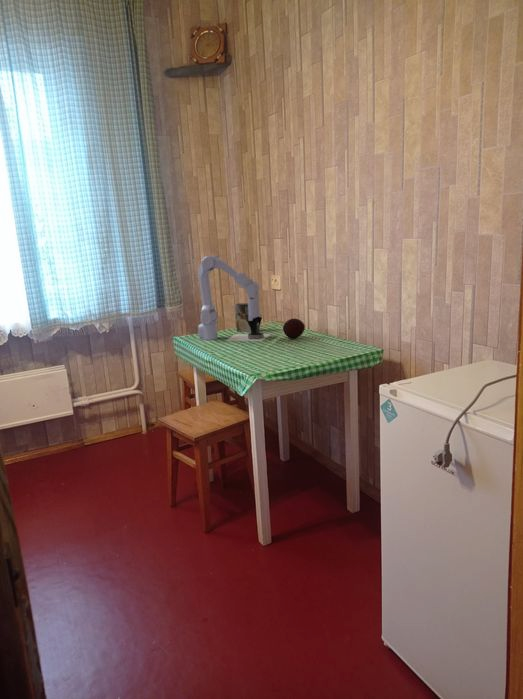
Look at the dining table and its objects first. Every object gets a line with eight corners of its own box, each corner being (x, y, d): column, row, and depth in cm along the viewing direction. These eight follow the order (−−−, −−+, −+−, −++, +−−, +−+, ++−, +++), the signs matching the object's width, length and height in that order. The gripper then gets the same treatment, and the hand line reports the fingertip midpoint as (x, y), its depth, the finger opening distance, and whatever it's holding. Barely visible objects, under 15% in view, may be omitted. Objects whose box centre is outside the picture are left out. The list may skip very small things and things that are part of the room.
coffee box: (255, 331, 288) (253, 302, 284) (252, 333, 282) (250, 304, 278) (240, 331, 290) (238, 303, 287) (236, 333, 284) (234, 304, 281)
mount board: (224, 342, 263) (224, 336, 262) (235, 336, 278) (234, 330, 277) (262, 342, 257) (262, 336, 256) (270, 336, 272) (270, 330, 271)
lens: (250, 337, 263) (248, 324, 262) (252, 335, 268) (251, 322, 266) (258, 337, 262) (257, 323, 260) (261, 335, 266) (259, 322, 265)
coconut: (307, 335, 267) (306, 315, 265) (302, 341, 255) (301, 320, 252) (286, 335, 270) (285, 316, 268) (280, 341, 257) (279, 320, 255)
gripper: (257, 308, 253) (258, 335, 256) (265, 303, 267) (266, 329, 270) (243, 308, 255) (245, 335, 258) (252, 304, 269) (253, 329, 272)
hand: (255, 332), depth 264 cm, fingers closed on lens, 4 cm apart
